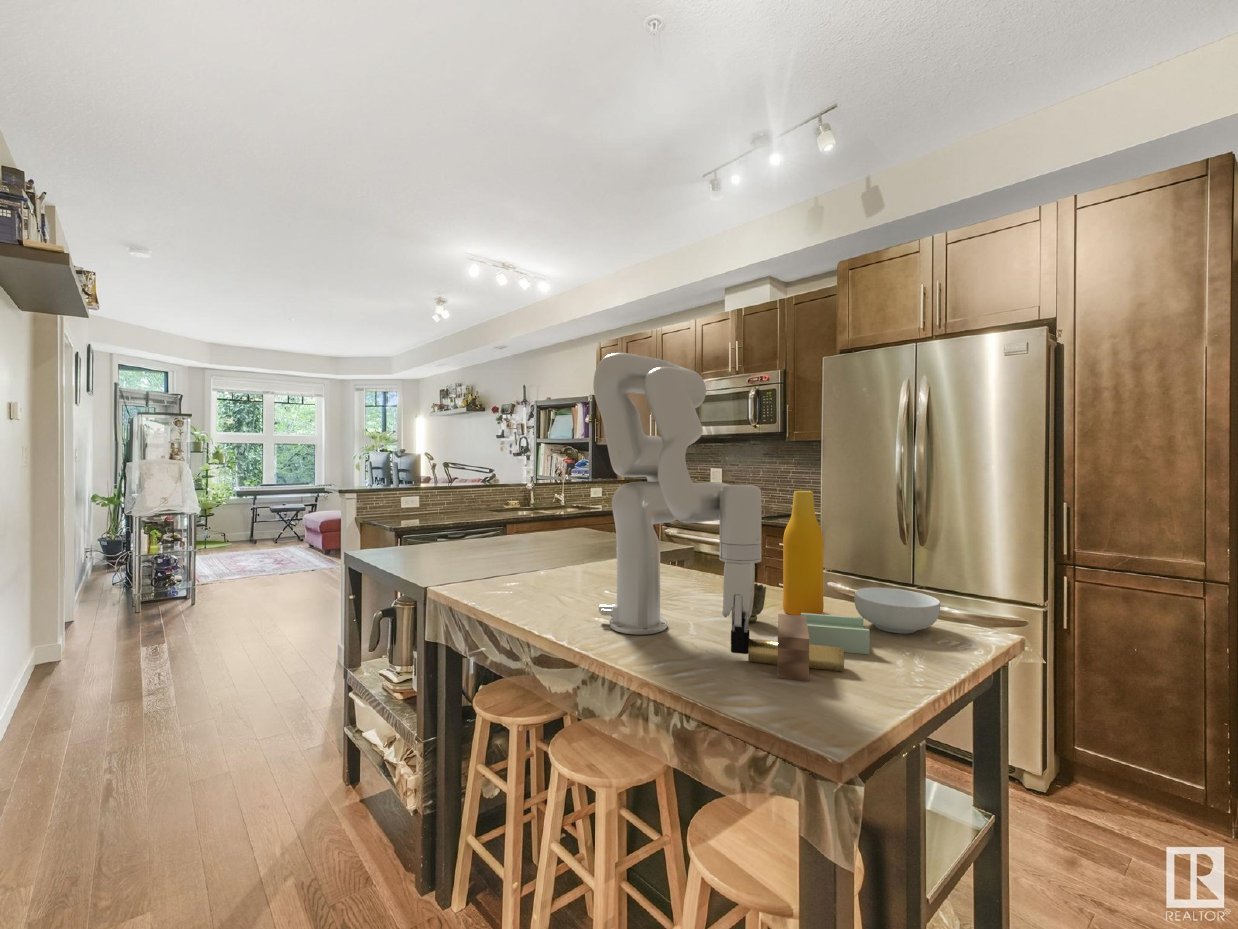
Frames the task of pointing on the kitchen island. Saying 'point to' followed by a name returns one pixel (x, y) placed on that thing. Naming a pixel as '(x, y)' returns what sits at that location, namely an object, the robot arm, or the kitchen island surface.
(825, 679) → the kitchen island surface
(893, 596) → the cereal bowl
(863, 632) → the v block
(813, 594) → the beer bottle
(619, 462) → the robot arm
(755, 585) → the cup
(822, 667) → the axle
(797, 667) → the beam
